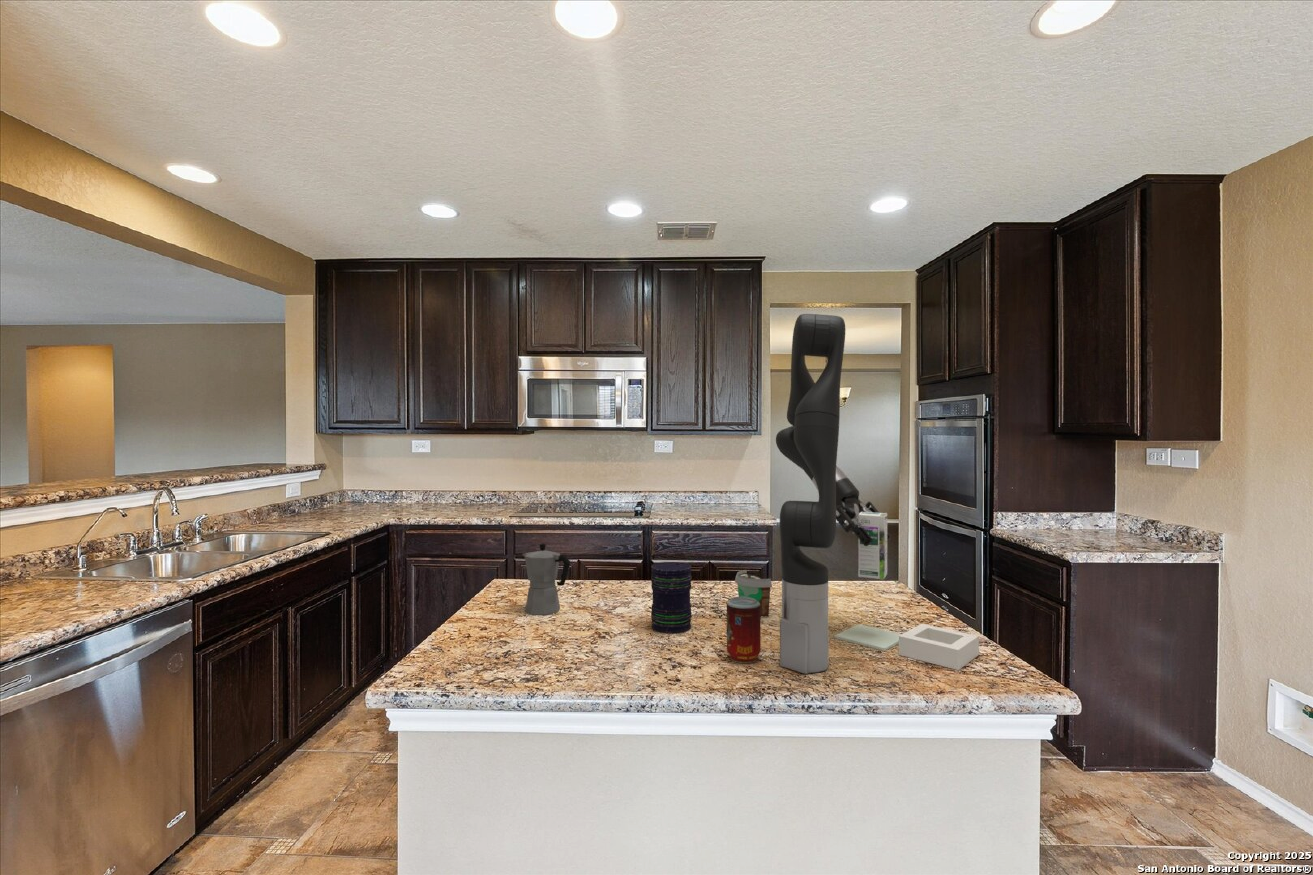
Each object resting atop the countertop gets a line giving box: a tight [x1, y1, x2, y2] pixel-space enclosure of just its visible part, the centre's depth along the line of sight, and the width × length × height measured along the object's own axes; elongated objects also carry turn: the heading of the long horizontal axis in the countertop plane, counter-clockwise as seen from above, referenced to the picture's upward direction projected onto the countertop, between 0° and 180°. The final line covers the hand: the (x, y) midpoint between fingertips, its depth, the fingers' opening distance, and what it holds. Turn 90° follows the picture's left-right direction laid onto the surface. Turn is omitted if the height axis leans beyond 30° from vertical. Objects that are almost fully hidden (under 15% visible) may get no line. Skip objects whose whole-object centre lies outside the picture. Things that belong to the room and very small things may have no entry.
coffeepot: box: [522, 543, 571, 616], centre depth 161 cm, size 15×9×18 cm, turn 62°
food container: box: [734, 569, 773, 617], centre depth 159 cm, size 12×6×10 cm, turn 25°
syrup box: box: [857, 512, 888, 580], centre depth 139 cm, size 6×6×14 cm
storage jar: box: [650, 561, 692, 635], centre depth 147 cm, size 10×10×15 cm
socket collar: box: [898, 623, 980, 671], centre depth 128 cm, size 12×12×4 cm
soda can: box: [726, 596, 762, 664], centre depth 126 cm, size 7×7×12 cm
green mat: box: [833, 623, 902, 652], centre depth 139 cm, size 12×12×1 cm
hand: (878, 541), depth 137 cm, fingers closed on syrup box, 7 cm apart
